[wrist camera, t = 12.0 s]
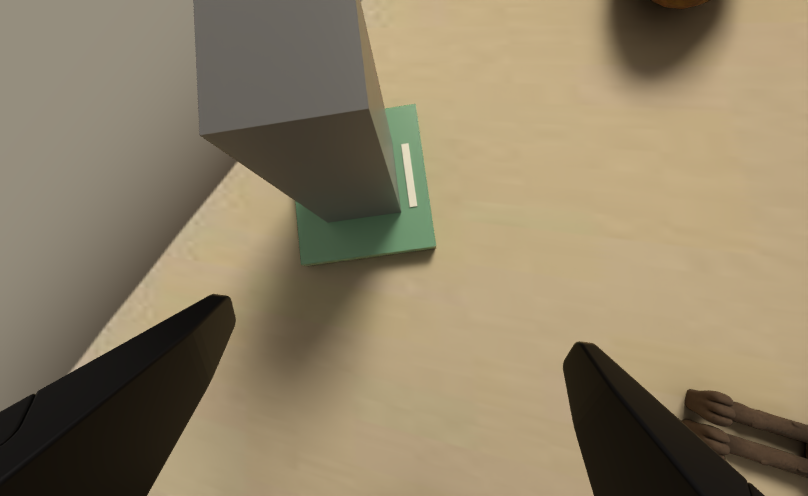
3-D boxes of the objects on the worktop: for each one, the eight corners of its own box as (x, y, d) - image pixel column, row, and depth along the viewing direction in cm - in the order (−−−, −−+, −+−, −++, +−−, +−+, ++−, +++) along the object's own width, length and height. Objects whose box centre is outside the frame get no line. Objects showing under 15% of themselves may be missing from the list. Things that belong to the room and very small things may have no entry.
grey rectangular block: (401, 212, 22) (369, 108, 9) (327, 222, 22) (199, 135, 10) (392, 141, 22) (350, -44, 10) (320, 152, 23) (192, -15, 10)
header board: (435, 248, 22) (436, 243, 20) (307, 266, 23) (292, 263, 20) (415, 113, 24) (414, 91, 21) (295, 132, 24) (279, 113, 22)
